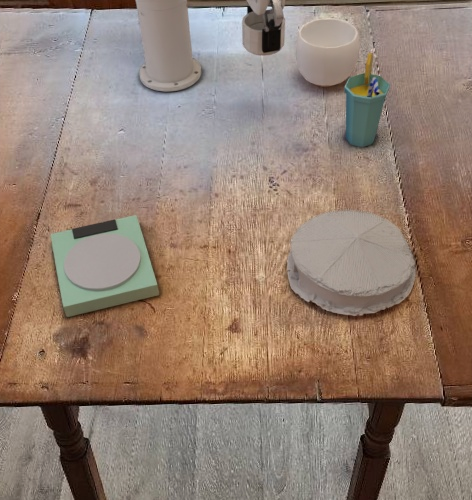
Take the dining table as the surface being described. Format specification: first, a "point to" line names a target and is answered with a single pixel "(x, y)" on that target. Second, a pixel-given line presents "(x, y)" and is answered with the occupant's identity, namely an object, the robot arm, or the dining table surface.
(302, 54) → the cup
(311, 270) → the grey round cake
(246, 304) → the dining table surface
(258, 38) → the bowl
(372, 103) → the cup
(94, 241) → the scale
